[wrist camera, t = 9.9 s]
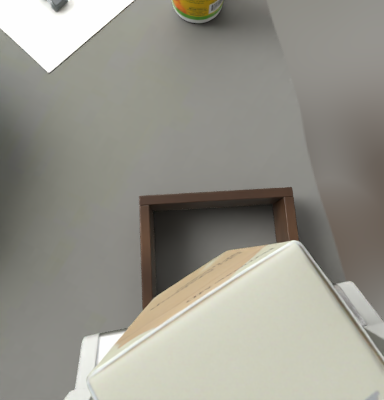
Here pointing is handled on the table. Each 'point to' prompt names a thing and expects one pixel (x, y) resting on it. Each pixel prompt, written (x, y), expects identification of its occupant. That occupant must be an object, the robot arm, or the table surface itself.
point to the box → (245, 336)
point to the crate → (166, 202)
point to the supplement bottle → (197, 9)
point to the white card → (55, 25)
